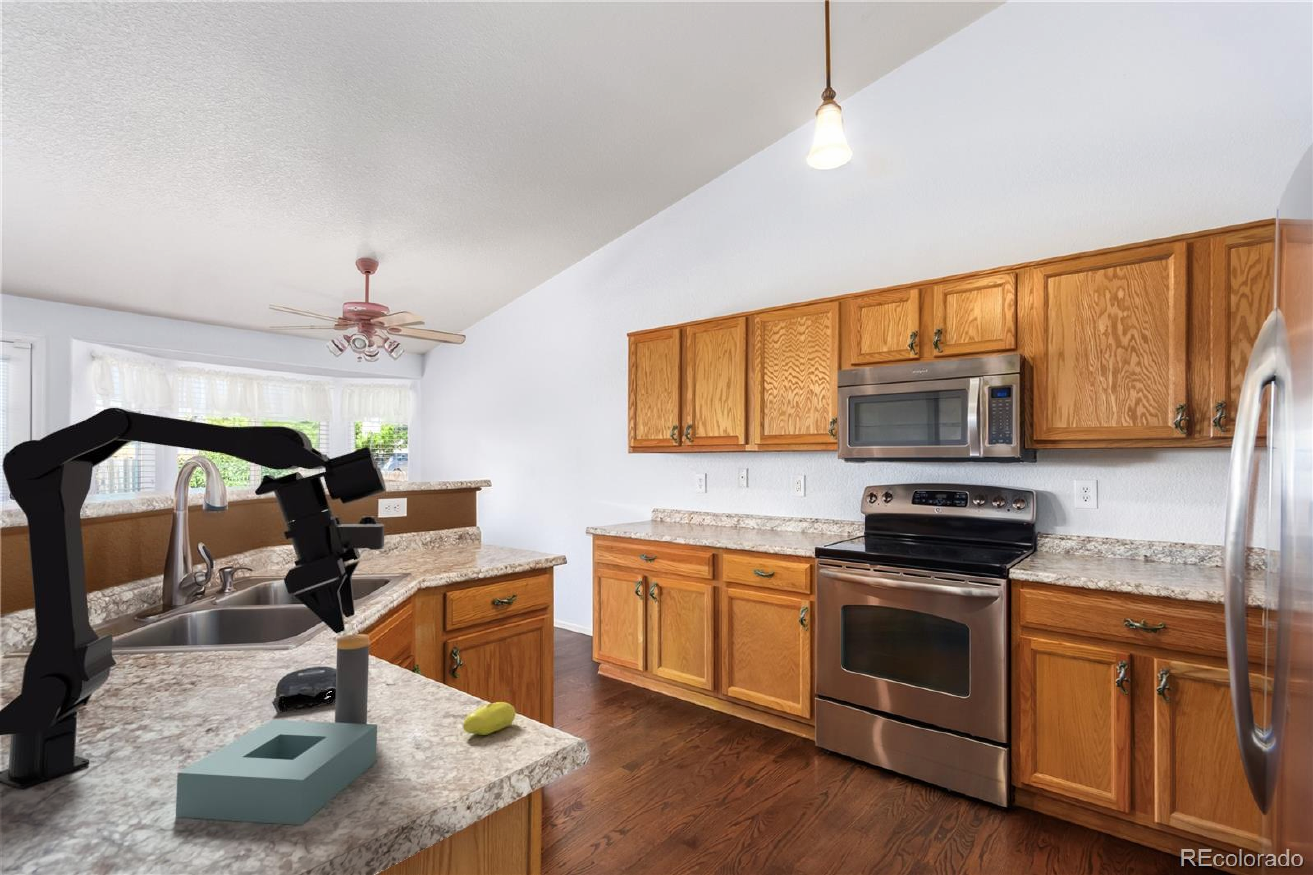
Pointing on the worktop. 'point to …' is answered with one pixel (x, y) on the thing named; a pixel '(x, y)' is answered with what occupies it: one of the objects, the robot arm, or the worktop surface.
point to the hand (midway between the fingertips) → (345, 623)
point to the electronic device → (306, 686)
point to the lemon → (489, 718)
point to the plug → (352, 679)
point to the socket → (277, 772)
